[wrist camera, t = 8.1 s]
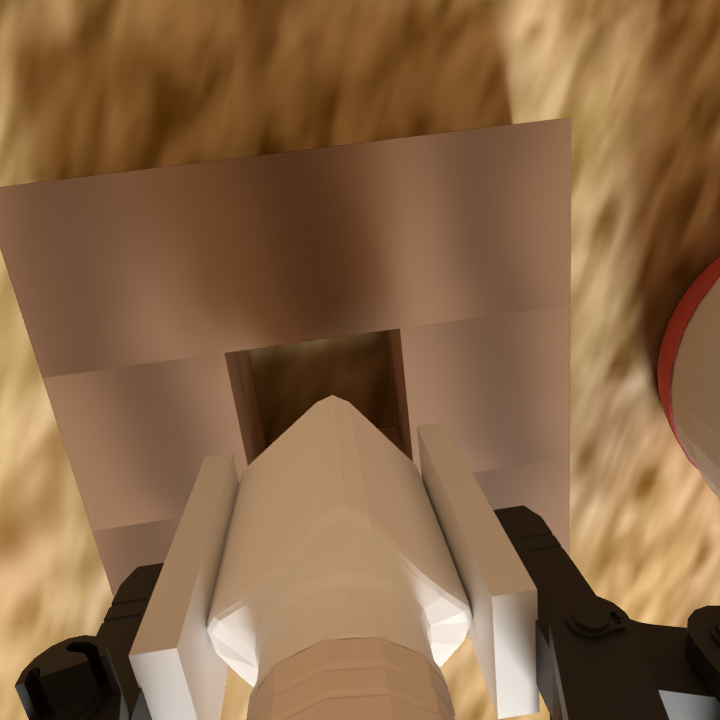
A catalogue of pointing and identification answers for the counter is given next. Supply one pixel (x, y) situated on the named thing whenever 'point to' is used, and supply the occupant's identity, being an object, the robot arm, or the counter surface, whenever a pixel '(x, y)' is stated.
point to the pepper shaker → (337, 579)
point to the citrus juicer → (695, 374)
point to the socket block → (300, 310)
